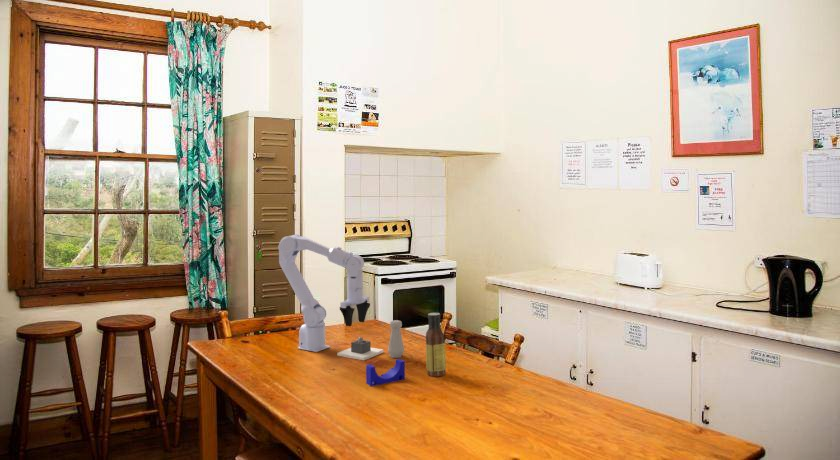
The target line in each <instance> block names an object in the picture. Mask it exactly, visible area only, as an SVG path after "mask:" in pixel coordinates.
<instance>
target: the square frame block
mask: <svg viewBox="0 0 840 460" xmlns="http://www.w3.org/2000/svg"><path fill="white" fill-rule="evenodd" d="M371 346H372V344H371V340H366V339H363V343H358V339H357V340H354V341H351V342H350V348H351V352H354V353H360V354H363V353H366V352H368V351H371V348H372V347H371Z"/></svg>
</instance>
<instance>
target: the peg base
mask: <svg viewBox="0 0 840 460" xmlns="http://www.w3.org/2000/svg"><path fill="white" fill-rule="evenodd" d="M357 340H358V343H363V340H364V337H362V336H359V337H358V336H357ZM383 353H384V349H382V348H375V347H371V351H368V352H366V353H363V354H360V353H354V352H351V347H349V348H346V349H344V350H341V351H338V352H337V353H336V354H337V355H336V356H338V357H344V358H349V359H354V360H359V361H367V360H369V359H371V358H373V357H376V356H378V355H381V354H383Z"/></svg>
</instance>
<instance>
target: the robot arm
mask: <svg viewBox="0 0 840 460" xmlns="http://www.w3.org/2000/svg"><path fill="white" fill-rule="evenodd" d="M277 248H278V249H277V250H278V264H279V266H280V268H281V269H282V272H283V274H284V275H285V277H286V279H287V280H288V281H287V282H288V283H289V285H290V286H291V288H292V290H293V292H294V293H295V296H296V297H297V299H298V302H299V303H300V305H301V308H300V309H301V311H300V312H301V314H302V317H303V319H302V320H303V322H304V323H303V324H301V326H300V327H299V330H298V331H299V332H298V341H299V345H298V347H297V349H300V350H304V351H309V352H315V353H317V352H320V351H323V350H326V349H329V348H330V347H331V346H330V345H327V344H326V324H325V321H324V320H325V319H326V317H327V310H326V309H325V307H324V306H322V305H321V304H320V302H319V301H318V300H317V299H316V298H315V297H314V295H313V294H312V292H311V290H310V288H309V287H308V285H307V283H306V281H305V279H304V277H303V275H302V273H301V271H300V270H299V268H298V266H297V264H296V258H297V256H298V255H299V254H298V253H300V251H306V250H307V251H310V252H312V253H316V254H319V255H321V256H325V257H326V258H327V260H328V262H329V263H333V264H335V265H337V266H340V267H342V268H346V270H347V277H346V278H347V286H346V287H347V290H346V291H347V293H346V294H347V299H345V300H343V301H341V302H340V306H339V310H340V312H341V314H342V316H343V320H344V323H345V326H346V327H352V325H353V315H354V312H355V308H353V306H356V309H357V317H358V318H357V319H358V323H365V320H366V317H367V313H368V311H369V308H370V307H371V302H370V297H369V296H363V295H364V290H363V289H364V283H363V282H364V281H363V280H364V279H363V278H364V275H363V267H364V266H365V260H364V258H363V257H362V256H360V255H359V254H354V253H353V252H348V251H346V250H344V249H342V247H340V246H338V247H336V246H334V247H332V248H330V247H327V246H325V245H323V244H321V243H318V242H317V241H315V240H312V239H310V238H308V237H306V236H301V235H299V234H292V235H288V236H287V235H286V236H283V237H282V238H281V239H280V241H279V244H278V246H277Z"/></svg>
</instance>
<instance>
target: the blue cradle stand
mask: <svg viewBox="0 0 840 460" xmlns="http://www.w3.org/2000/svg"><path fill="white" fill-rule="evenodd" d="M405 363H406V361H405V360H404V359H401V358H396V359H395V364H394V367H391V368H389V370H387V372H385V373H382V374H381V375H378V373H377V371H376V366H374V365H373V364H371V363H370V364H366V365H365V368H366V370H365V374H366V376H365V378H366V379H365V381H366V382H365V384H366V385H368V386H370V387H375V386H379V385H384V384H389V383H394V382H399V381H404V380H405V379H406V373H405V371H406V370H405V368H406V364H405Z"/></svg>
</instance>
